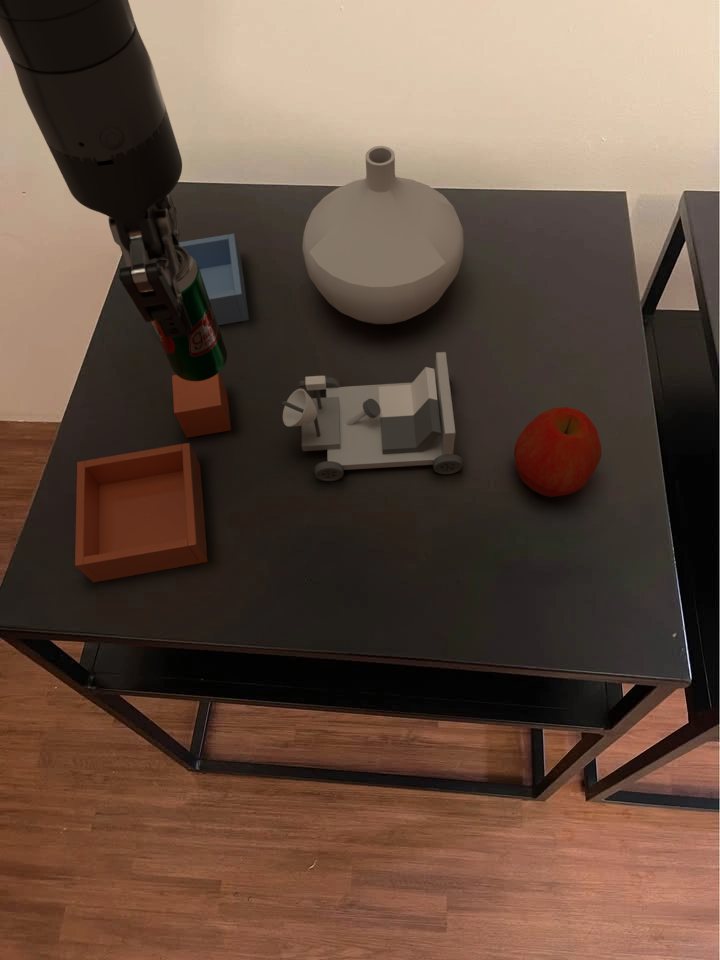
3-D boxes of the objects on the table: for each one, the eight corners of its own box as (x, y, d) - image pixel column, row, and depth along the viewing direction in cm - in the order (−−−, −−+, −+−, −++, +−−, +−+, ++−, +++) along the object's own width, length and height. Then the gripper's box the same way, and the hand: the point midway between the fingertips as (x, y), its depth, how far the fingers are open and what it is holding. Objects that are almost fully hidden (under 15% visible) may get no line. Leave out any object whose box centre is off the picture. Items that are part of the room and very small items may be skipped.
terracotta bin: (93, 582, 72) (74, 565, 68) (93, 483, 78) (76, 461, 73) (207, 562, 72) (196, 544, 68) (200, 464, 78) (189, 442, 74)
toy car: (277, 435, 68) (279, 338, 73) (291, 484, 76) (292, 394, 82) (468, 423, 67) (456, 327, 73) (461, 474, 76) (450, 384, 81)
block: (186, 438, 80) (173, 413, 75) (184, 401, 82) (171, 375, 78) (231, 430, 80) (221, 404, 75) (227, 394, 82) (217, 367, 78)
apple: (583, 518, 73) (610, 466, 63) (502, 501, 74) (517, 447, 65) (593, 451, 76) (620, 392, 67) (516, 435, 78) (531, 375, 68)
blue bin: (166, 334, 87) (155, 308, 83) (163, 273, 92) (152, 246, 88) (249, 320, 87) (241, 293, 83) (241, 260, 92) (234, 233, 88)
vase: (297, 342, 85) (271, 213, 69) (324, 232, 94) (308, 93, 77) (451, 356, 83) (463, 227, 66) (465, 243, 92) (479, 102, 75)
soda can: (213, 391, 63) (176, 295, 52) (162, 377, 64) (116, 280, 53) (237, 348, 65) (206, 247, 55) (187, 334, 66) (148, 233, 56)
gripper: (46, 51, 47) (131, 250, 61) (31, 201, 40) (132, 384, 55) (161, 35, 47) (218, 237, 62) (166, 182, 40) (230, 369, 55)
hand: (177, 305), depth 58 cm, fingers closed on soda can, 5 cm apart
